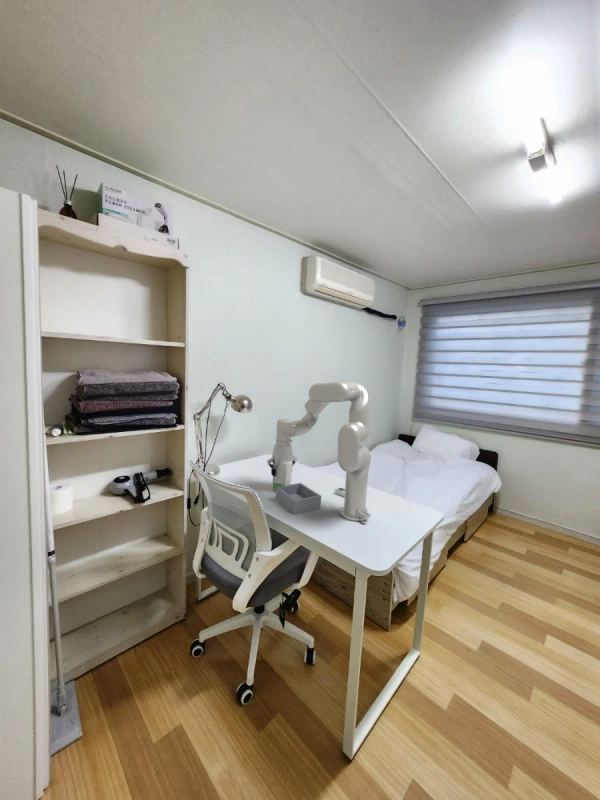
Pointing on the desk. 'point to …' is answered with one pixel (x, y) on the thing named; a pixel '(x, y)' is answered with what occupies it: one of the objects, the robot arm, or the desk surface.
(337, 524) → the desk surface
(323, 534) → the desk surface
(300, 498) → the tote
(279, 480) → the skincare box
